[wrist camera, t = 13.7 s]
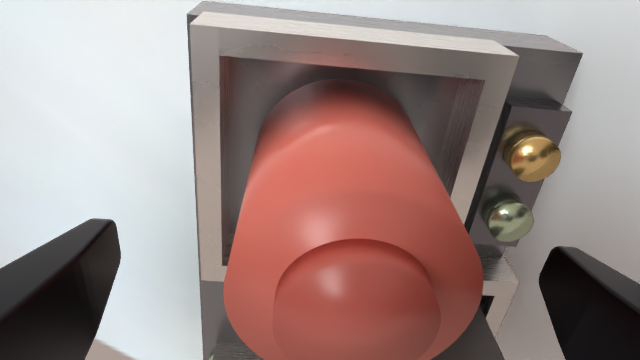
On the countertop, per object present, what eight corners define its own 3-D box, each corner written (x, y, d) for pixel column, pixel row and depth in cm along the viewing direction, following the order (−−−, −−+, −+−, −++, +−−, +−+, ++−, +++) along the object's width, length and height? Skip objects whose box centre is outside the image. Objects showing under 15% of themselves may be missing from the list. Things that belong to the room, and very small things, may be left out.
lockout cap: (433, 87, 12) (538, 226, 6) (399, 227, 14) (454, 413, 9) (258, 70, 11) (214, 202, 6) (253, 217, 14) (218, 404, 8)
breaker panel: (550, 32, 13) (625, 66, 10) (442, 336, 20) (467, 412, 17) (202, -4, 12) (170, 22, 9) (212, 326, 19) (195, 404, 16)
